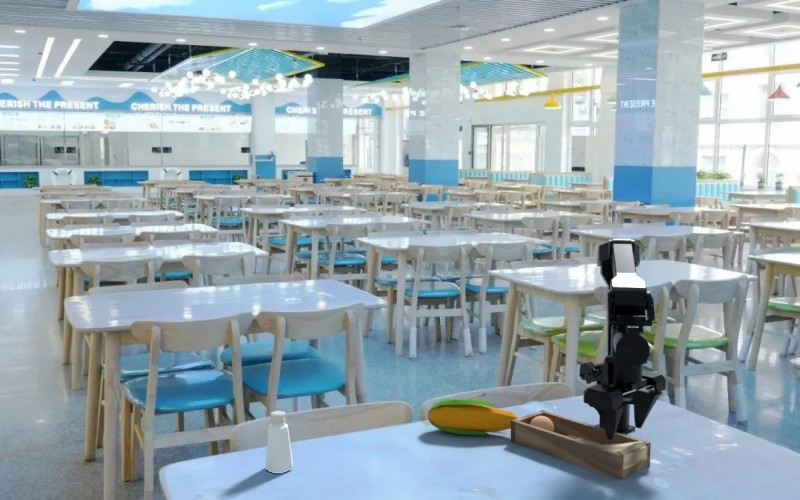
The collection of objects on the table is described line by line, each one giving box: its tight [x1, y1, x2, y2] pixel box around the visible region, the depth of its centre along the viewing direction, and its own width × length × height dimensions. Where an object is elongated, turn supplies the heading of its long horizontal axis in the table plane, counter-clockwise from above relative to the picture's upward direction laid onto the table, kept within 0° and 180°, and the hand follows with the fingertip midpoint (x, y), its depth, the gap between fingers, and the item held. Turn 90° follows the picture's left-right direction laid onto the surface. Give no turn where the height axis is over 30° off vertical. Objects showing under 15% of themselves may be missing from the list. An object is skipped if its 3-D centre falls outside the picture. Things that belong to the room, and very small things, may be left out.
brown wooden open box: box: [510, 409, 652, 480], centre depth 162 cm, size 10×26×5 cm, turn 41°
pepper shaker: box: [265, 410, 294, 472], centre depth 155 cm, size 5×5×11 cm
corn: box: [427, 398, 520, 436], centre depth 174 cm, size 7×8×20 cm
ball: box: [530, 416, 554, 432], centre depth 169 cm, size 5×5×5 cm
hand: (624, 433), depth 154 cm, fingers open, 9 cm apart
